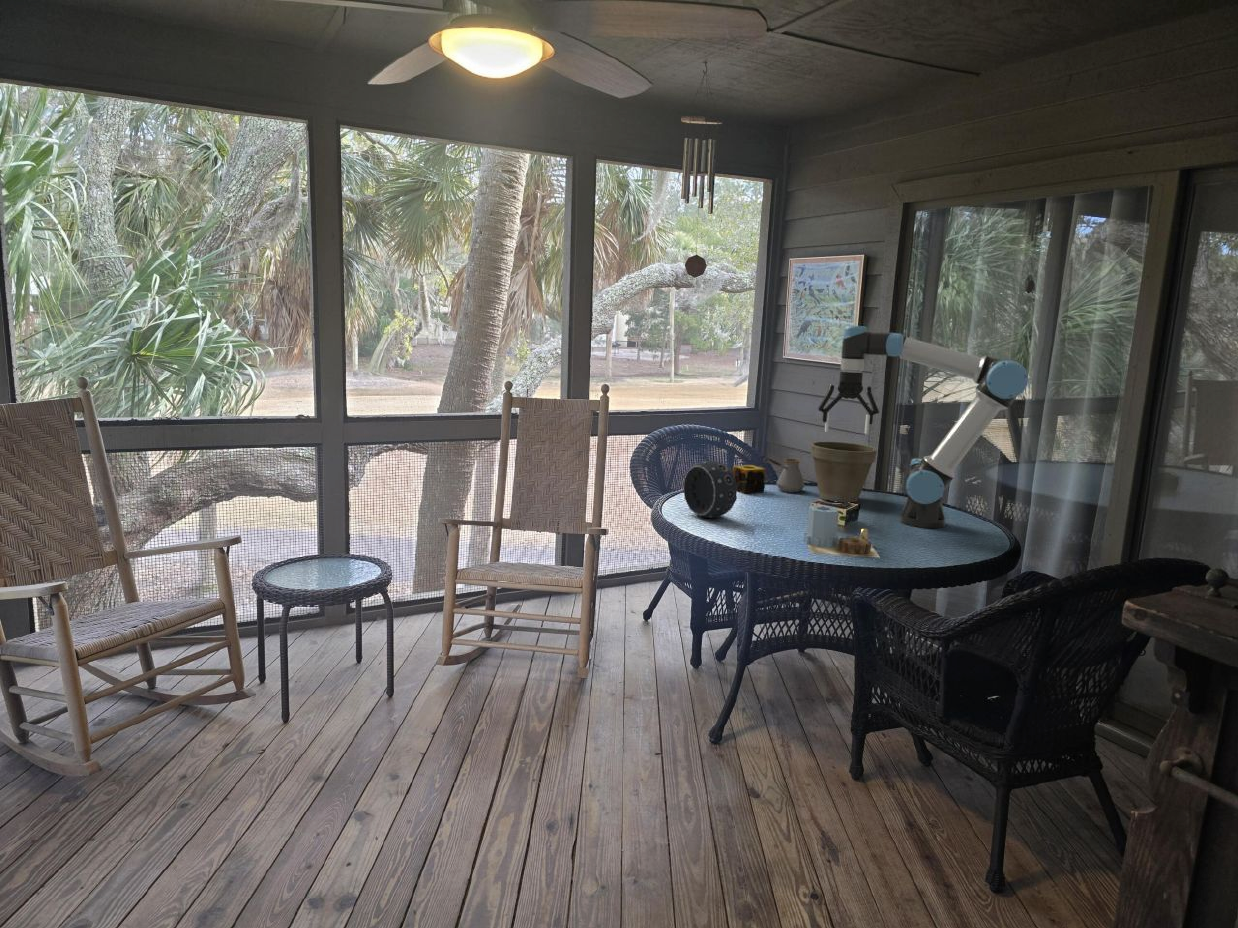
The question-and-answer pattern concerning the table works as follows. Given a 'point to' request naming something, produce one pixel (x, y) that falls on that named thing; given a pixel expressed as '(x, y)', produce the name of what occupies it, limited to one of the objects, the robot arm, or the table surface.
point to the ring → (710, 489)
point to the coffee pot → (789, 476)
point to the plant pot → (841, 469)
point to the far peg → (864, 533)
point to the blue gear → (822, 526)
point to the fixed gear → (854, 545)
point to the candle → (749, 479)
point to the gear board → (838, 551)
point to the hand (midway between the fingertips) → (846, 432)
